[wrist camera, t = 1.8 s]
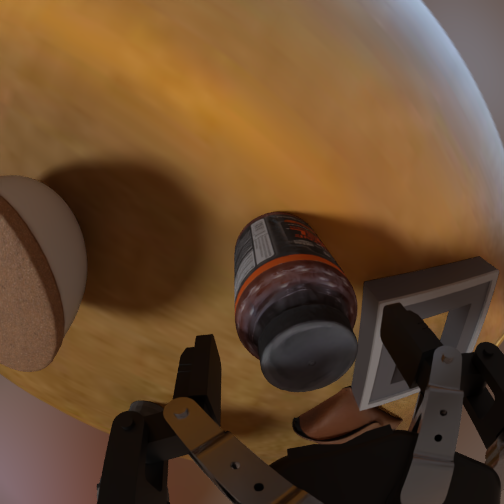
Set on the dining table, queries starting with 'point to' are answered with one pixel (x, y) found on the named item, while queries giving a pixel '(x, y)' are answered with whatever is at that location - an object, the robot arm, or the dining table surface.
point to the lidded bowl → (37, 272)
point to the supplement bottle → (293, 304)
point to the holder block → (425, 305)
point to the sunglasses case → (340, 420)
